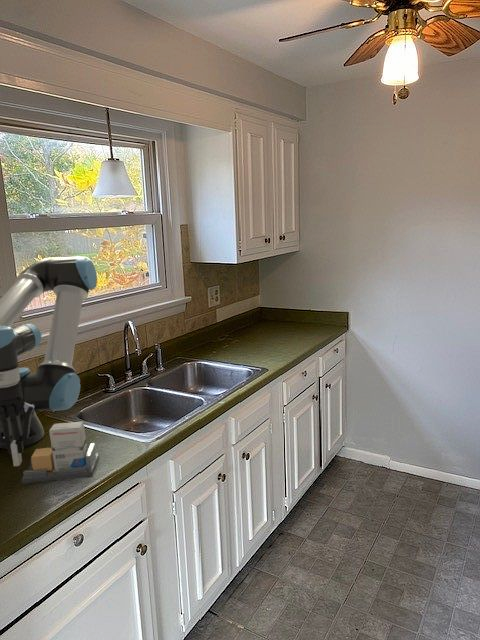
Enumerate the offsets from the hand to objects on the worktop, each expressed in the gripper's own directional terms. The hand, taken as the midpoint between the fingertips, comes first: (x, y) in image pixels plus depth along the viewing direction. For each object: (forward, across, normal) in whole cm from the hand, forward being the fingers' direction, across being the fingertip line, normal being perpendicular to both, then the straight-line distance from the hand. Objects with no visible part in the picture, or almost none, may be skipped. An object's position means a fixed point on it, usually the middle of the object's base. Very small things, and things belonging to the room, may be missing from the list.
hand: (17, 463), depth 136 cm
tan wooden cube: (+2, +7, -1) cm, 7 cm away
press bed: (+3, +12, -1) cm, 13 cm away
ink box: (+2, +14, -1) cm, 15 cm away
